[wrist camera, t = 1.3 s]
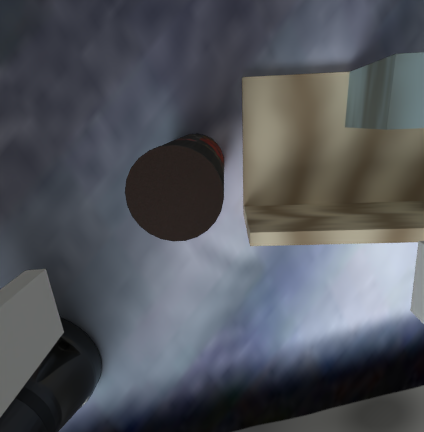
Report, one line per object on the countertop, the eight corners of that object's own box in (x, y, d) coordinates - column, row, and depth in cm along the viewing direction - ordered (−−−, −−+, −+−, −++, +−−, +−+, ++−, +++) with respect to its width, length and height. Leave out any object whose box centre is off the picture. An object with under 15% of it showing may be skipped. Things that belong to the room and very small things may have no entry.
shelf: (243, 214, 34) (252, 256, 23) (242, 78, 30) (251, 55, 19) (465, 207, 33) (579, 249, 22) (496, 65, 28) (655, 33, 18)
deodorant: (162, 140, 32) (112, 156, 17) (217, 128, 31) (212, 135, 17) (176, 193, 33) (140, 248, 19) (228, 183, 33) (232, 232, 19)
